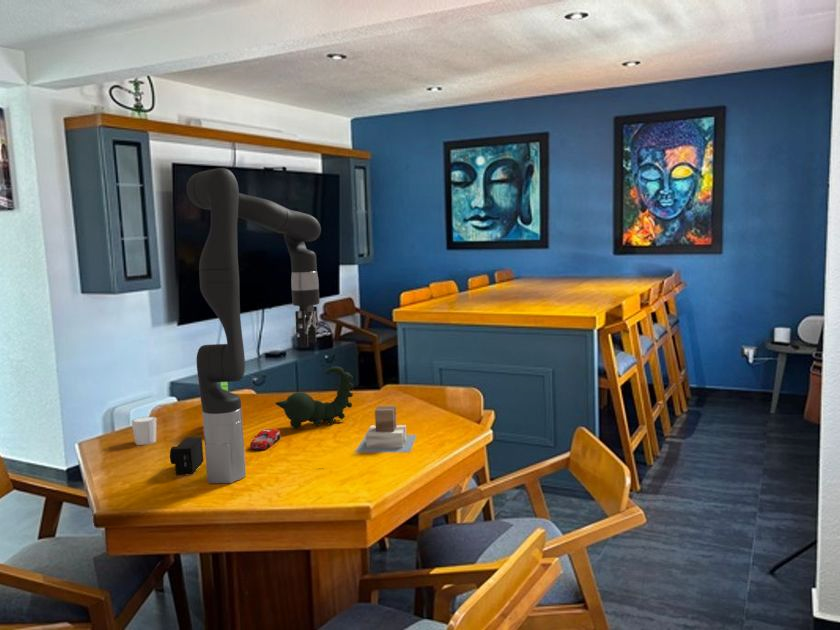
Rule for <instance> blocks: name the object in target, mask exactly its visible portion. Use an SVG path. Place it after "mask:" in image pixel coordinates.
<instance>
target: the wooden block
mask: <svg viewBox="0 0 840 630" xmlns="http://www.w3.org/2000/svg"><path fill="white" fill-rule="evenodd" d="M396 425H397V427H396V429H395V430H394V432H376V424H375V425H370V427H369V428H368V430H367V431H366V432H365V436H366V447H367V448H403V446H404V444H405V441H406V439H407V438H406V435H407V424H404V425H403V424H399V425H398V424H396Z"/></svg>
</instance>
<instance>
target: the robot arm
mask: <svg viewBox="0 0 840 630" xmlns="http://www.w3.org/2000/svg"><path fill="white" fill-rule="evenodd" d="M239 191H240V190H239V184H238V181H237V178H236V177H235V175H234V173H233V172H232V171H231V170H230V169H228V168H224V167H220V168H218V167H217V168H214V169H208V170H204V171H203V170H202V171H199V172H196V173H194V174H193V175H191V177H189V179H188V181H187V183H186V194H187V196H188V199H189V200H190V202H191V203H192V204H193V205H194V206H196V207H197V208H200V209H203V210H208V211H210V229H209V233H208V236H207V239H206V241H205V244H204V246H203V249H202V252H201V255H200V258H199V266H198V270H199V272H198V273H199V288H200V289H199V290H200V292H201V295H202V296H203V299H205V301H206V303H207V304H208V306H209V307H210V308H211V309H212V311H213V312H214V314H215V315H216V317H217V318H218V320H219V321H220V323H221V325H222V327H223V330H224V332H225V339H226V343H219V344H218V343H216V344H215V343H214V344H204V345H201V346H200V347H199V348H198V349H197V352H196V353H197V354H196V370H197V371H196V373H197V379H198V387H199V397H200V402H201V409H202V410H201V411H202V412H201V413H202V425H203V426H202V427H203V437H204V452H205V453H204V454H205V464H206V465H205V466H206V467H205V468H206V479H207V481H206V483H207V484H232V483H234V482H236V481H240V480H242V479H243V478H245V477H246V473H247V472H246V470H247V469H246V459H245V458H246V457H245V456H246V455H245V443H244V442H245V441H244V430H243V429H244V427H243V411H242V400H241V396H239V395H238V394H237V393H234V392H230V391H229V390H228V391H225V390H224V389H222V388H221V386H219V384H218V383H220V382H227V383H230V382H232V383H233V382H234V383H236V382H240V381H241V380H242V379H243V378H244V375H245V372H246V371H245V369H246V357H245V348H244V342H243V341H244V340H243V338H244V337H243V331H242V322H241V304H240V303H241V302H240V301H241V300H240V299H241V298H240V297H241V296H240V294H241V293H240V271H239V257H238V256H239V255H238V248H239V247H238V218H240V219H243V220H245V221H248V222H251V223H254V224H256V225H258V226H261V227H263V228H265V229H268V230H271V231H272V232H275V233H279V234H283V238H284V242H285V244H286V246H287V250H288V253H289V255H290V263H291V265H290V266H291V283H290V284H291V297H292V299H291V301H292V305H293V306H295V307H299V308H298V310H295V313H294V314H295V315H294V316H295V332H296V333H297V334H298V336H299V348H302V349H306V348H308V347H309V344H316V342H317V327H319V320H318V319H319V318H318V307H317V305H319V304H320V288H319V287H320V284H319V276H318V267H317V254H316V253H315V252H314V251H313V250H310V249H307V246H306V244H305V243H307V242H308V243H309V242H313V241H316V240H317V239H318V238H319V237H320V235H321V232H322V227H321V224H320V222H319V221H318V219H317V218H315V217H314V216H312V215H311V214H309V213H304V212H302V211H296V210H292V209H289V208H287V207H285V206H282V205H280V204H278V203H277V202H274V201H272V200H269V199H265V198H262V197H256V196H252V195H248V194H244V193H241V192H239Z"/></svg>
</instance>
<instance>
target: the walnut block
mask: <svg viewBox="0 0 840 630" xmlns="http://www.w3.org/2000/svg"><path fill="white" fill-rule="evenodd" d="M374 418H375V419H374V420H375V425H376V432H394V430H395V429H396V427H397V425H398V424H397V406H396V405H378V406H377V407H376V409H374Z"/></svg>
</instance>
